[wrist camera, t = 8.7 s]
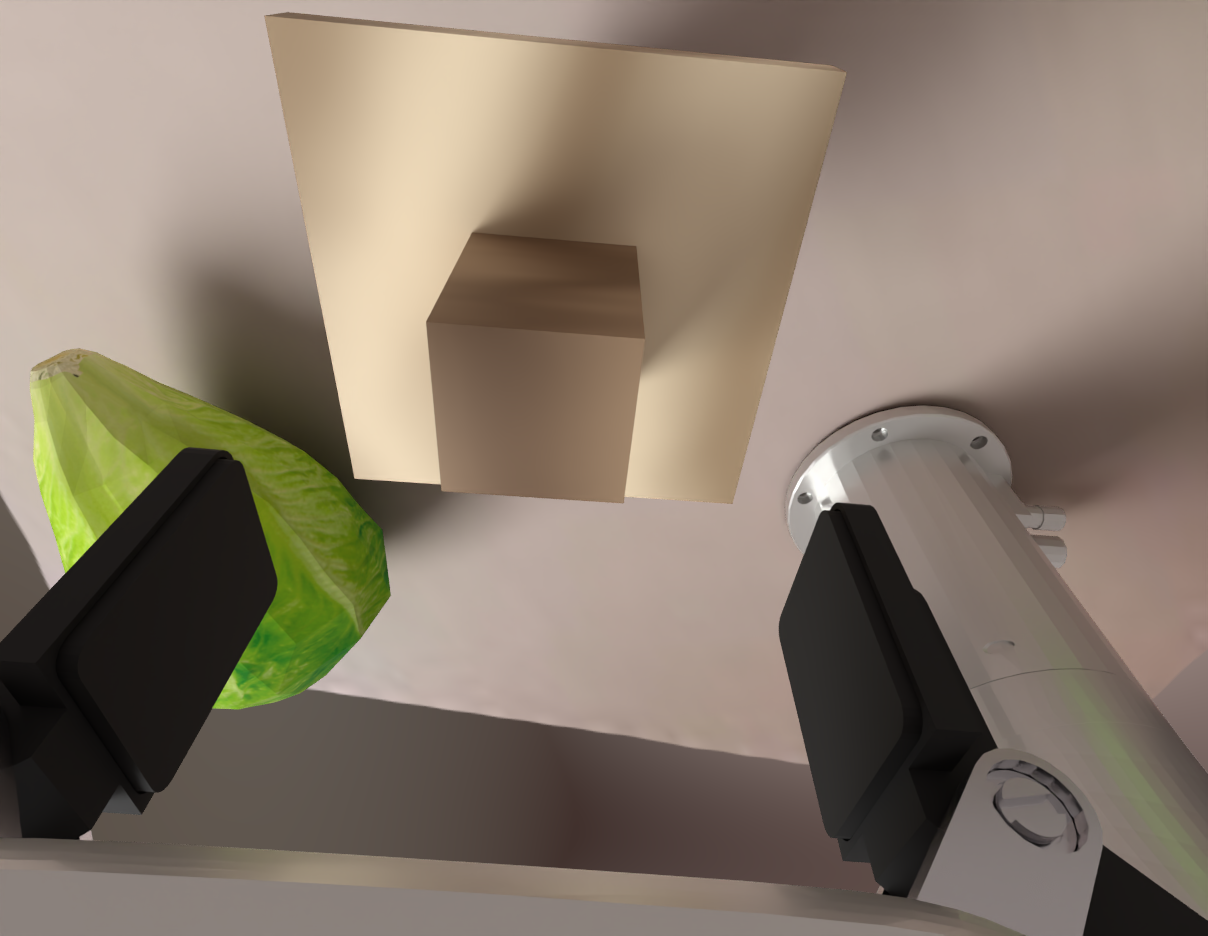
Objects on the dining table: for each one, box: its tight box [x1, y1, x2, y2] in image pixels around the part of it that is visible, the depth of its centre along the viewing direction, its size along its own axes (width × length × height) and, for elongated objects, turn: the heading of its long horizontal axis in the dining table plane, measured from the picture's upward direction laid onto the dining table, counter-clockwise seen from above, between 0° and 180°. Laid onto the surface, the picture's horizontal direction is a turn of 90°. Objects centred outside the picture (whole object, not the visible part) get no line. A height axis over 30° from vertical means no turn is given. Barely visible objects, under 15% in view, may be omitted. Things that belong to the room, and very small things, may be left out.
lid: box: [265, 12, 847, 504], centre depth 16 cm, size 12×12×6 cm
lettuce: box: [30, 348, 391, 709], centre depth 33 cm, size 14×20×12 cm
